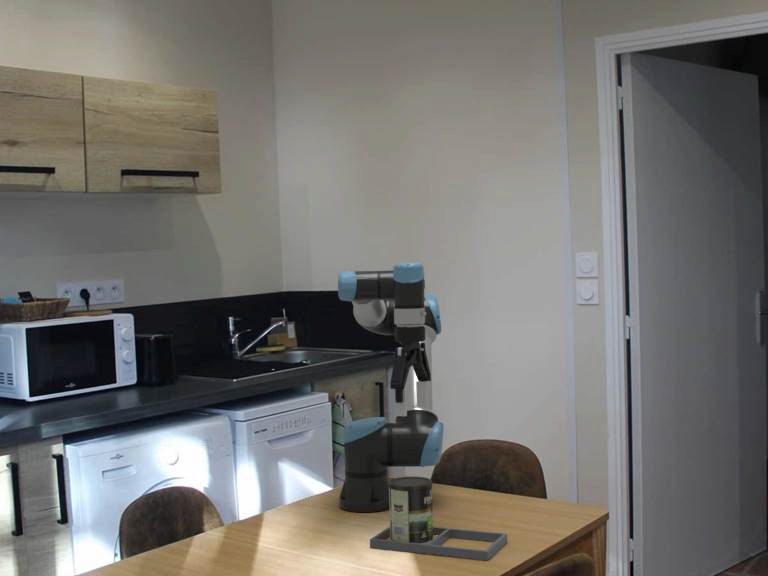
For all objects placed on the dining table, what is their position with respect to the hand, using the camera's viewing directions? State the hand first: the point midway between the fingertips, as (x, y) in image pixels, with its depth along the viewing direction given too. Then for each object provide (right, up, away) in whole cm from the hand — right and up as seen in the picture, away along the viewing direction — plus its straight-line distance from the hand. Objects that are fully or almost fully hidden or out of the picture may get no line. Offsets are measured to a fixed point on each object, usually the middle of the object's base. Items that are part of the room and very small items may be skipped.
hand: (411, 411), depth 242 cm
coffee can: (0, -29, -11) cm, 31 cm away
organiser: (+6, -29, -14) cm, 33 cm away
